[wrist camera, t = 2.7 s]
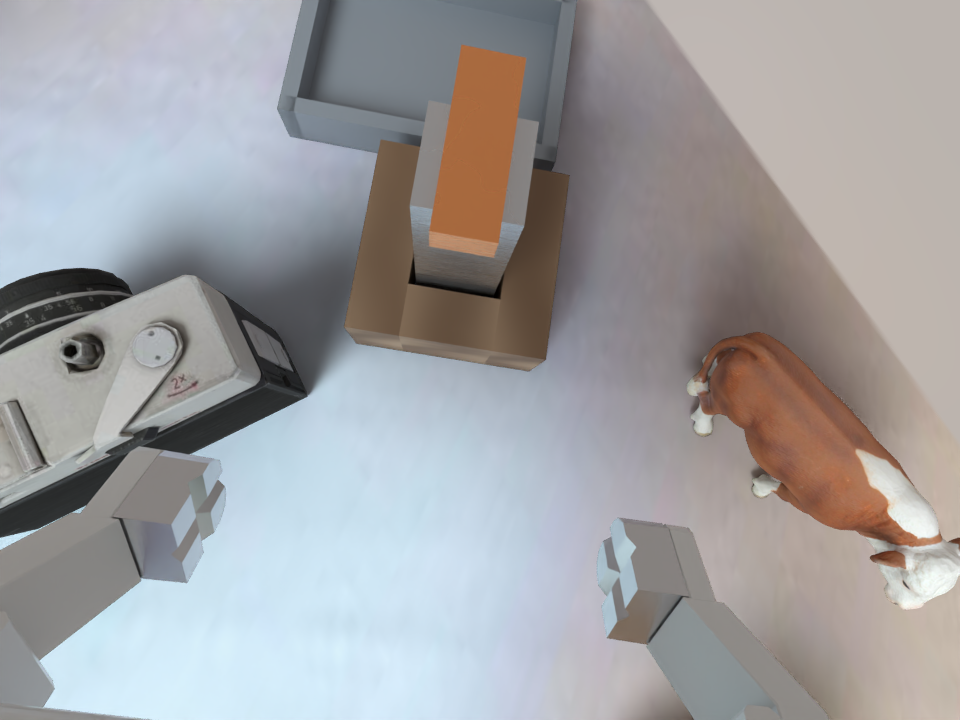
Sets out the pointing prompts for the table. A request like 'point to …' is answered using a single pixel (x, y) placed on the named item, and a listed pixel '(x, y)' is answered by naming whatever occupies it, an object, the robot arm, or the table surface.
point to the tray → (417, 66)
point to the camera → (121, 382)
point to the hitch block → (446, 314)
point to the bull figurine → (825, 461)
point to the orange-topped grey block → (473, 177)
